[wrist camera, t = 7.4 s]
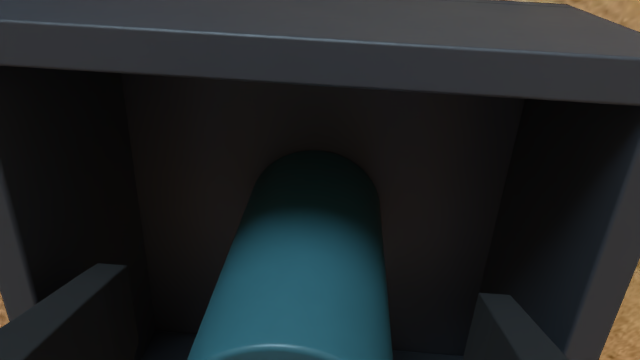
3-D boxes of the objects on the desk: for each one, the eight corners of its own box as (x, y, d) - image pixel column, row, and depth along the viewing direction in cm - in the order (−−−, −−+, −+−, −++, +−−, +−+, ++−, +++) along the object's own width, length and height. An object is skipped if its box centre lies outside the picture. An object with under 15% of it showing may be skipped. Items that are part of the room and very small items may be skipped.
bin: (477, 358, 17) (527, 537, 12) (144, 331, 17) (60, 493, 12) (568, 4, 12) (721, 62, 7) (92, -23, 12) (-89, 13, 7)
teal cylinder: (373, 265, 15) (386, 511, 9) (252, 256, 15) (178, 492, 9) (386, 153, 13) (413, 357, 7) (250, 144, 13) (157, 337, 7)
